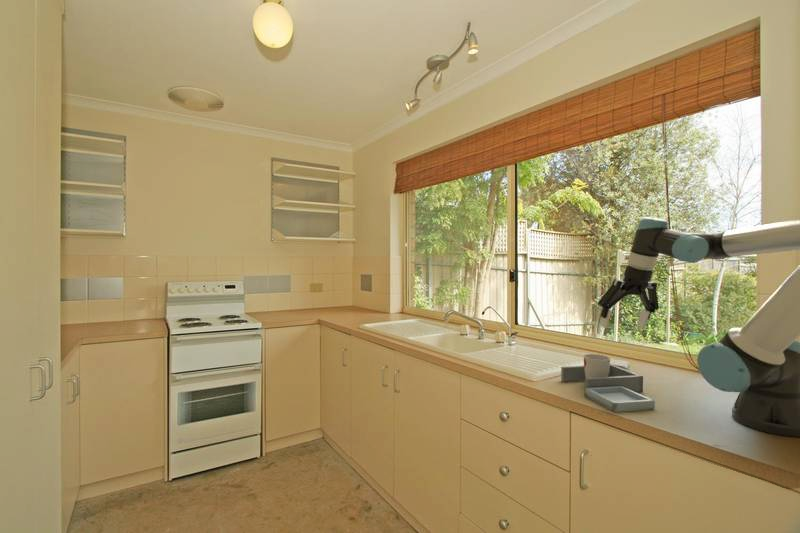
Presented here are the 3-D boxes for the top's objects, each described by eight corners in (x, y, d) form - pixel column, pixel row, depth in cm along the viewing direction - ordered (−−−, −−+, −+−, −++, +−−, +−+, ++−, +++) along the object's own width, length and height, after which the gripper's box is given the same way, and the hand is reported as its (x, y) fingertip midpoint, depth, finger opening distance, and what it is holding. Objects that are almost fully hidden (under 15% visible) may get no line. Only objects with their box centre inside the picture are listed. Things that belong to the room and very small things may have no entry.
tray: (654, 409, 112) (654, 400, 112) (614, 412, 110) (614, 403, 110) (621, 393, 125) (621, 386, 125) (584, 396, 123) (584, 388, 123)
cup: (588, 381, 138) (588, 352, 138) (613, 386, 132) (613, 357, 132) (579, 386, 132) (579, 356, 132) (605, 392, 127) (605, 361, 126)
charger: (631, 370, 152) (626, 379, 140) (605, 366, 158) (598, 375, 146) (631, 358, 152) (626, 366, 140) (605, 354, 158) (598, 362, 146)
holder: (642, 391, 127) (643, 376, 127) (587, 394, 124) (587, 379, 124) (611, 378, 141) (611, 364, 141) (561, 380, 138) (561, 366, 138)
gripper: (666, 265, 128) (647, 323, 135) (596, 260, 125) (580, 320, 131) (684, 272, 121) (663, 333, 128) (611, 268, 118) (594, 331, 124)
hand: (621, 327), depth 129 cm, fingers open, 13 cm apart
